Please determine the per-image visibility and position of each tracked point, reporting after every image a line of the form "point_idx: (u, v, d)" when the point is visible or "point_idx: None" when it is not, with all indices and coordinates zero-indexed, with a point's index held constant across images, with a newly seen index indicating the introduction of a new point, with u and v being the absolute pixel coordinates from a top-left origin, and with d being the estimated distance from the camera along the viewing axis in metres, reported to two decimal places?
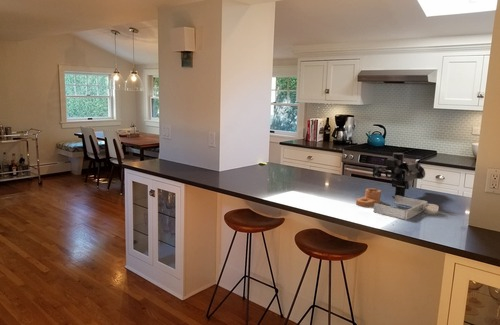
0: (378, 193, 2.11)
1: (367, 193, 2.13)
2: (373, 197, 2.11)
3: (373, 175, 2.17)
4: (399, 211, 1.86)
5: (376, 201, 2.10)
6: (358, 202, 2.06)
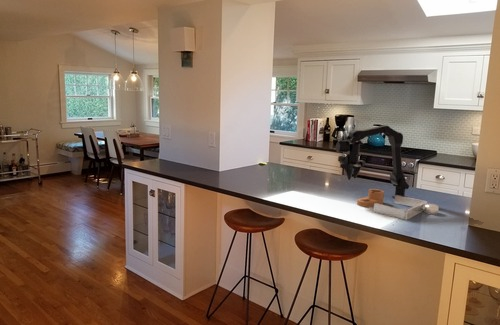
0: (380, 194, 2.09)
1: (369, 193, 2.12)
2: (375, 198, 2.10)
3: None
4: (399, 211, 1.86)
5: (378, 202, 2.08)
6: (358, 202, 2.07)
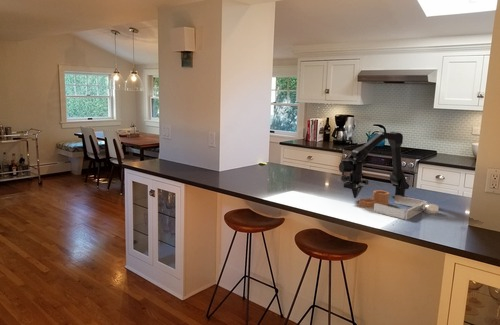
0: (384, 195, 2.06)
1: (373, 194, 2.10)
2: (378, 199, 2.07)
3: None
4: (399, 211, 1.86)
5: (380, 203, 2.06)
6: (359, 202, 2.07)
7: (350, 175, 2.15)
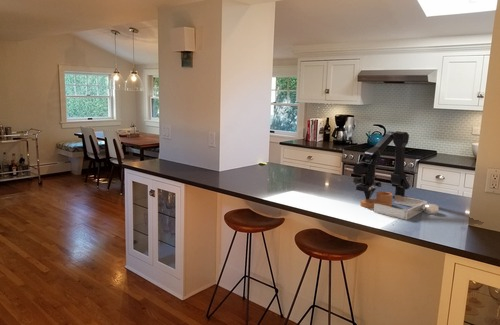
0: (386, 196, 2.04)
1: (376, 195, 2.08)
2: (381, 200, 2.05)
3: (379, 186, 2.15)
4: (399, 211, 1.86)
5: (383, 204, 2.04)
6: (361, 202, 2.06)
7: (363, 177, 2.10)
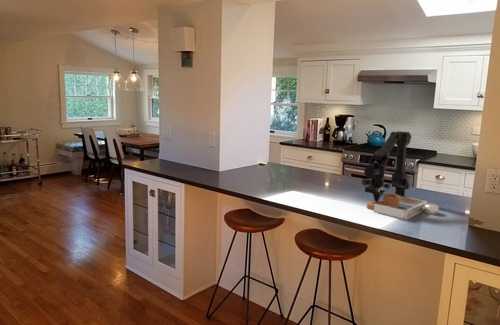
0: (393, 199, 2.00)
1: (383, 197, 2.04)
2: (387, 202, 2.01)
3: None
4: (399, 211, 1.86)
5: None
6: (367, 204, 2.02)
7: (371, 179, 2.06)
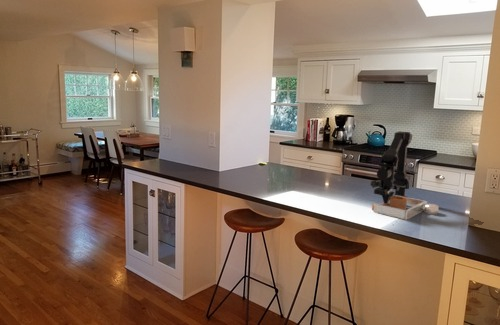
0: (399, 201, 1.95)
1: (390, 200, 2.00)
2: (393, 204, 1.97)
3: (397, 189, 2.08)
4: (399, 211, 1.86)
5: None
6: (372, 206, 1.99)
7: (381, 180, 2.03)
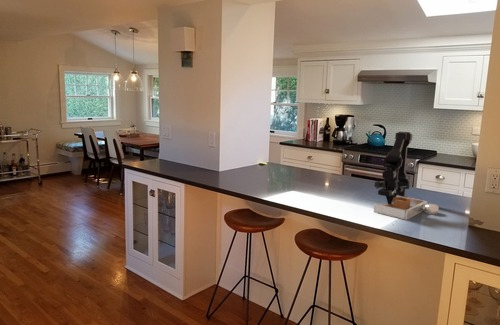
0: (402, 202, 1.93)
1: (393, 200, 1.99)
2: (396, 205, 1.95)
3: (401, 190, 2.07)
4: (399, 211, 1.86)
5: None
6: None
7: (384, 181, 2.01)
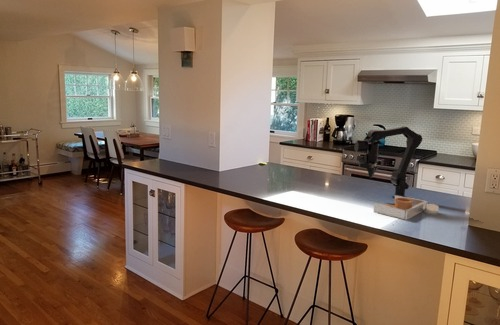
0: (403, 203, 1.92)
1: (395, 201, 1.97)
2: (397, 206, 1.94)
3: (382, 164, 2.24)
4: (399, 211, 1.86)
5: None
6: None
7: (366, 155, 2.19)
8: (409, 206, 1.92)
